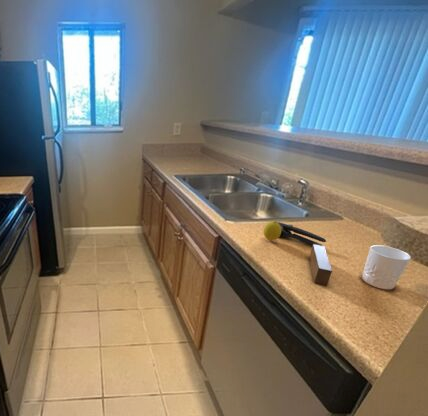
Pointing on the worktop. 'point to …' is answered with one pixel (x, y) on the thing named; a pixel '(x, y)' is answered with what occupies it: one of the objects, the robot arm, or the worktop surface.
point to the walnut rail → (320, 265)
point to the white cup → (384, 266)
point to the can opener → (287, 233)
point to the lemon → (272, 231)
